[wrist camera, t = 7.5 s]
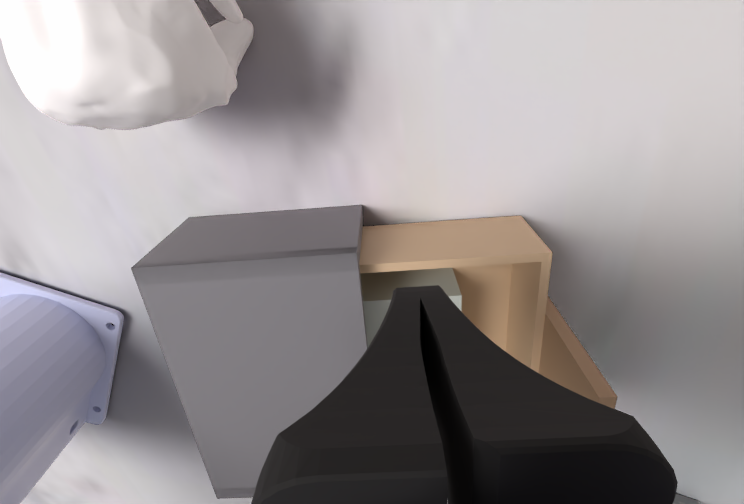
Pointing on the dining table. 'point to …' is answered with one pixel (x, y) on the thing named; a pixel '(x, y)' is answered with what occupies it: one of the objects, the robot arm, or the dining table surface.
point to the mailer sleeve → (255, 326)
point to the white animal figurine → (123, 58)
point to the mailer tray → (482, 290)
